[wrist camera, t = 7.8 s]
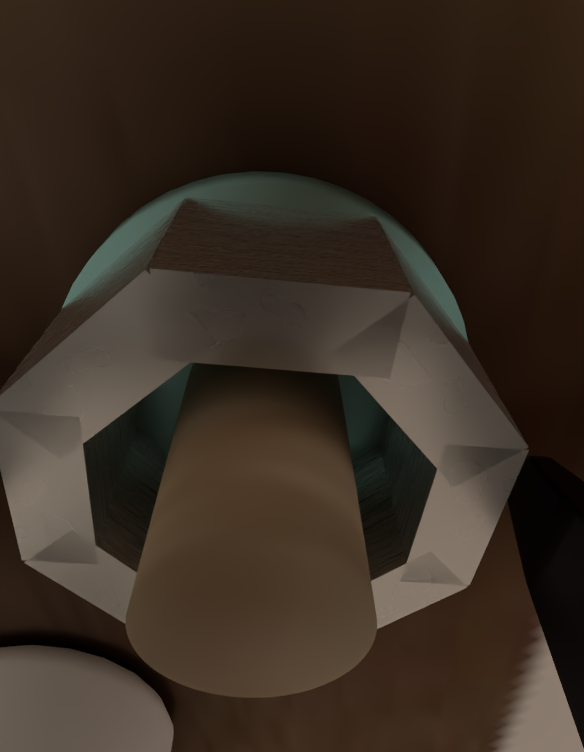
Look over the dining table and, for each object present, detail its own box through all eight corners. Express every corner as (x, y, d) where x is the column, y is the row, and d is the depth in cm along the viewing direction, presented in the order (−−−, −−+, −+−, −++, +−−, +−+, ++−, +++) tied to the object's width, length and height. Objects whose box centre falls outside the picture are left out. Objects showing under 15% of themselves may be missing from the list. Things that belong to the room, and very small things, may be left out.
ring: (505, 230, 9) (590, 309, 7) (407, 535, 13) (437, 658, 11) (46, 182, 9) (-53, 249, 6) (89, 515, 13) (40, 639, 10)
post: (507, 197, 10) (746, 382, 5) (408, 513, 14) (478, 787, 9) (46, 146, 9) (-237, 297, 4) (89, 492, 14) (-26, 771, 8)
